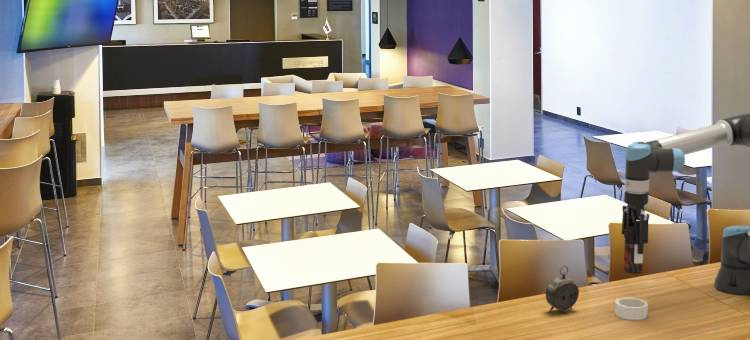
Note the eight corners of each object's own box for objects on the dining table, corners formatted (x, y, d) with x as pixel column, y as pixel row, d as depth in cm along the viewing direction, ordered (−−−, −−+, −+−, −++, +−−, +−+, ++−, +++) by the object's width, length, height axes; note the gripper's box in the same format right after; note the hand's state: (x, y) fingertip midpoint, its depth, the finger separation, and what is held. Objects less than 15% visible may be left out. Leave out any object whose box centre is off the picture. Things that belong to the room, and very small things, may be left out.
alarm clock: (571, 307, 302) (572, 261, 299) (580, 312, 297) (582, 266, 294) (544, 311, 298) (545, 265, 295) (553, 316, 293) (554, 270, 290)
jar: (637, 308, 300) (638, 296, 299) (653, 318, 290) (653, 306, 289) (609, 310, 298) (610, 299, 297) (624, 321, 288) (624, 309, 287)
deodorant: (642, 274, 287) (645, 229, 284) (624, 273, 288) (626, 229, 286) (641, 268, 293) (643, 225, 290) (622, 268, 294) (624, 224, 291)
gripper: (612, 186, 294) (609, 253, 298) (640, 198, 276) (637, 269, 280) (633, 185, 296) (630, 251, 300) (662, 197, 277) (658, 267, 282)
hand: (633, 259), depth 290 cm, fingers closed on deodorant, 6 cm apart
